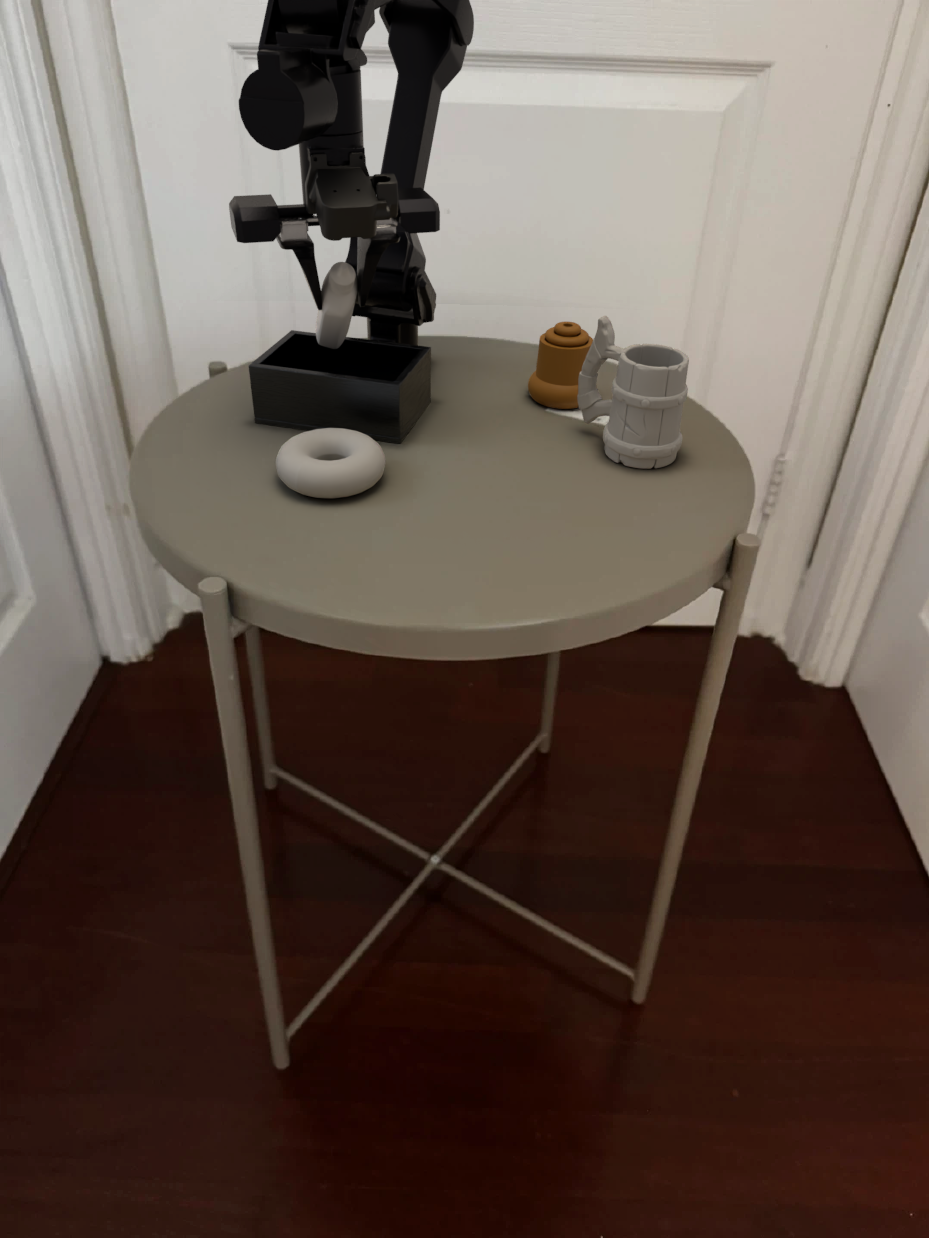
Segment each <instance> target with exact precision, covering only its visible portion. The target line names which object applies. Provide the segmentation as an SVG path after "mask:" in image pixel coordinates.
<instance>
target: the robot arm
mask: <svg viewBox="0 0 929 1238" xmlns="http://www.w3.org/2000/svg"><path fill="white" fill-rule="evenodd" d="M377 9H378V14H379V16H380V19H381V20H382V23H383V26H384V27H385V30H386V31H387V33H388V38H387V46H388V49H389V52H390V54H391V57H392V60H393V63H394V66H395V68H396V71H397V78H396V85H395V90H394V95H393V101H392V106H391V112H390V117H389V123H388V130H387V135H386V141H385V146H384V151H383V156H382V163H381V168H380V173H375V174H373V175H370V173H369V171H368V167H367V160H366V158H367V157H366V151H365V150H366V149H365V147H364V146H365V145H364V121H363V119H364V117H363V93H362V70H361V68H362V67H365V66H366V65H367V63H368V57H367V55H366V53H365V51H364V50H363V49H362V47H363V44H364V41H365V37H366V35H367V33H368V32H369V30H371V29H372V27H373V26H374V25H375V24H376V14H375V11H376V10H377ZM474 28H475V18H474V11H473V7H472V4H471V1H470V0H267V4H266V9H265V13H264V18H263V23H262V27H261V33H260V37H259V42H258V46H257V47H258V48H257V52H256V60H257V61H256V62H257V69H255V70H254V71H253V72H251V73H250V74H249V75H248V76H247V78H245V80H244V82H243V84H242V87H241V90H240V96H239V98H238V111H239V114H240V119H241V122H242V124H243V126H244V129H246V131H247V133H248V135H249V136H250V137H251V138H252V139H253V140H254V141H255V142H256V143H257V144H258V145H260V146H262V147H263V148H265V149H268V150H270V151H284V150H287V149H290V148H292V147H295V146H298V154H299V167H300V180H301V181H300V182H301V193H302V203H301V204H300V203H299V204H277V202H276V201H275V198H274V197H273V195H272V194H271V193H270V194H252V195H251V194H249V195H234V196H233V197H232V198H231V200H230V201H229V203H228V210H229V219H230V226H231V227H230V228H231V230H232V232H233V235H234V238H235V240H236V242H237V243H241V244H253V243H255V244H256V243H270V242H271V243H272V242H274V241H277V243H278V245H279V247H280V249H282V250H285V251H286V250H287V251H288V250H292V252H293V254H294V256H295V257H296V259H297V262H298V263H299V266H300V268H301V271H302V274H303V277H304V278H305V280H306V284H307V286H308V289H309V291H310V294H311V296H312V299H313V300H314V305H315V307H316V309H317V311H318V310H322V294H321V289H322V287H321V283H320V277H319V273H318V272H319V271H318V267H317V262H316V256H315V254H316V253H315V243H314V241H313V240H312V238H311V236H310V234H309V233H308V232H309V227H319V228H320V233H321V235H322V237H323V238H325V239H326V240H328V241H333V242H335V241H336V242H337V241H341V240H342V239H349V245H348V252H347V256H346V259H345V261H344V262H345V263H348V264H350V265H351V266H352V267H353V268H354V271H355V273H356V277H357V283H358V289H357V296H356V301H355V305H354V309H353V313H352V317H360V318H366V332H367V333H366V335H367V339H368V340H376V341H384V342H393V343H401V344H409V345H417V346H419V327H421V326H422V325H423V324H426V323H432V322H434V321H435V310H436V308H437V293H436V290H435V289H434V287H433V284H432V282H431V281H430V278H429V276H428V274H427V273H426V263H427V257H426V255H425V252H424V249H423V247H422V243H421V241H420V238H419V234H424V233H425V234H427V233H437V232H439V231H440V230H441V211H440V210H441V209H440V206H439V205H440V204H439V203H438V202H437V200H436V199H434V198H433V196H431V195H430V193H428V192H427V191H426V190H425V186H426V185H425V184H426V179H427V174H428V168H429V163H430V158H431V153H432V146H433V141H434V137H435V130H436V125H437V121H438V114H439V110H440V103H441V99H442V94H443V92H444V90H445V89H446V88H447V87H448V86H449V85H450V83H451V82H452V81H453V80H454V79H455V78H456V76H457V75H458V74H459V73H460V72H461V71H462V68H463V64H464V61H465V58H466V57H465V56H466V53H467V49H468V47H469V46H470V44H471V43H472V41H473V40H472V39H473V37H474V30H475V29H474Z"/></svg>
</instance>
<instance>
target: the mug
mask: <svg viewBox="0 0 929 1238" xmlns="http://www.w3.org/2000/svg"><path fill="white" fill-rule="evenodd" d="M615 336H616V335H615V330H614V327H613V323H612V321H611V319H610V318H609V317H608V316H607V315H603V316H601V317H599V318H598V320H597V328H596V332H595V335H594V338H592V339H593V342H592V344H591V347H590V349H589V351H588V353H587V355H586V359H585V361H584V363H583V366H582V371H581V372H580V373H579V378H578V395H577V400H578V406H579V408H578V410H580V411H581V415H582V421H583V422H584V423H586V424H591V423H593V422H594V421H595V420H597V419H598V418H599V417H608V422H607V423H606V424H605V426H604V428H603V431H602V441H603V443H604V447H603V450H604V453H605V455H606V456H607V457H608V458H609V459H610V460H611V461H613V462H615V463H617V464H618V463H622V464H623V465H624V466H625V467H630V468H634V469H644V470H647V469H652V468H654V469H660V468H665V467H666V466H669V465H671V464H672V463H673V462H674V461H675V460H676V458H677V453H678V452H679V450H680V449H681V447H682V444H683V434H682V432H681V426H682V425H681V424H682V417H683V416H682V415H683V411H684V410H683V409H684V403H685V402H686V400H687V397H688V391H689V387H688V385H687V378H688V370H689V363H690V358H689V357H688V355H687V354H686V353H685V352H684V351H682V350H680V349H679V348H673V347H672V346H668V345H663V344H657V343H656V344H655V343H642V344H640V343H636V344H632V345H629V346H626V347H621V346H618V345H615V341H616V339H615V338H616V337H615ZM608 359H609V360H610V359H611V360H613V361H616V362H618V364H617V368H616V375H615V377H614V378H613V379H612V383H611V394H612V398H610V399H609V398H608V399H603V397H602V395H601V394H600V391H599V388H598V387H597V388H596V384H597V383H598V376H599V373H598V372H599V370H600V368H601V367H602V365H604V364H605V362H606V361H607V360H608ZM597 385H598V384H597Z"/></svg>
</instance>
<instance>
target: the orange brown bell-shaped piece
mask: <svg viewBox="0 0 929 1238" xmlns="http://www.w3.org/2000/svg"><path fill="white" fill-rule="evenodd" d="M593 339H594V338H592V337H591V336H590V335H589V332H588V331H586V330H585V329H584V328H582V327H581V325H580V324H579V323H576V322H574V321H573V322H572V321H559V322H557V323H555V324H554V326H553V327H550V328H548V329H546V331H545V332H544V333H542V334H541V335H539V341H538V342H539V343H538V350H537V358H536V367H535V370H534V371H533V372H532V374H530V376H529V379H528V381H527V390H528V393H529V396H530V397H531V398H532V399H533V400H534V401H535V402H536V403H537V404H539V405H542V406H543V407H548V408H551V409H557V410H573V409H579V406H578V400H577V395H578V378H579V373H580V372H581V371H582V366H583V363H584V361H585V359H586V355H587V353H588V351H589V349H590V347H591V344H592V342H593ZM596 388H597V389H598V384H596Z"/></svg>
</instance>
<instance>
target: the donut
mask: <svg viewBox="0 0 929 1238" xmlns="http://www.w3.org/2000/svg"><path fill="white" fill-rule="evenodd" d="M274 463H275V469H276V471H277V476H278V478H279V479H280V480H281V482H283V484H284V485H286V487H288V488H289V489H290V490H292V491H294V492H296V493H298V494H300V495H303V496H308V497H312V498H316V499H339V498H348V497H351V496H354V495H358V494H361V493H363V492H365V491H367V490H369V489H371V488H373V487H374V486H375V485H376V483H378V481H380V480H381V478H382V476H383V475H384V472H385V468H386V463H387V459H386V455H385V453H384V450H383V448H382V446H381V444H380V443H378V442H377V440H373V439H372V438H371V437H369V436H368V435H366V434H363V433H361V432H358V431H354V430H349V429H343V428H323V429H315V430H311V431H308V430H306V431H303V432H301V433H298V434H296V435H294V436H291V437H290V438H289V439H288V440H287V441H286V442H284V443H283V444H282V445H281V446H280V449H279V450H278V452H277V455H276V456H275V462H274Z"/></svg>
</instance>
